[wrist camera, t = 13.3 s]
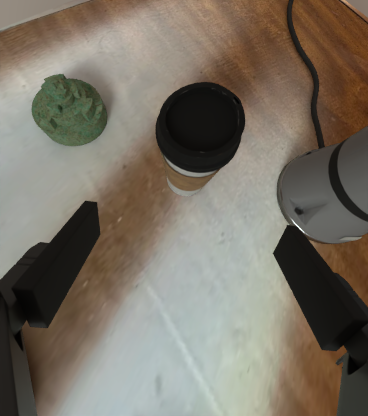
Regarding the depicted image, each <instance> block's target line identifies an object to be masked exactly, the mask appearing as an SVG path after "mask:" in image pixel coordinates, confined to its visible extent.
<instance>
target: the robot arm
mask: <svg viewBox="0 0 368 416" xmlns="http://www.w3.org/2000/svg"><path fill="white" fill-rule="evenodd" d="M292 4H293V0H289V3H288V9H287V21H288V27H289V31H290V34H291V37H292V40H293V42H294V44H295V47H296V49H297V51H298V53H299V55H300V56H301V58H302V59H303V61H304V62H305V64H306V65H307V67H308V68H309V70H310V72H311V74H312V77H313V81H314V92H313V97H312V103H311V114H312V119H313V123H314V127H315V131H316V136H317V141H318V146H319V149H315V150H312V151H308V152H306V153H304V154H302V155H300V156H298V157H297V158H295V159H294V160H292V161H291V162H290V163H289V164H288V165H287V166H286V167H285V168H284V169H283V171H282V173H281V175H280V177H279V180H278V185H277V198H278V203H279V206H280V209H281V211H282V213H283V215H284V217H285V219H286V220H287V221H288V223H289V224H290V225H287V227H286V229H285V231H284V233H283V235H282V237H281V239H280V241H279V243H278V245H277V247H276V249H275V251H274V253H273V254H274V256H275V258H276V260H277V262H278V264H279V266H280V268H281V270H282V272H283V274H284V276H285V278H286V280H287V282H288V284H289V286H290V288H291V290H292V292H293V294H294V296H295V298H296V300H297V302H298V304H299V306H300V308H301V310H302V312H303V314H304V316H305V318H306V320H307V322H308V324H309V326H310V328H311V329H312V331H313V333H314V335H315V337H316V339H317V341H318V343H319V345H320V347H321V349H322V350H329V351H337V350H338V349H339V348H340V347H342V346H343V345H344V347H345V348H346V350H347V353H345V354H344V355H343V356H342V357H341V358H339V359H338V360H337V362H336V364H337V365H339V364H340V363H342V362H343V367H342V377H341V385H340V393H339V401H338V409H337V416H368V307H367V306H366V305H365V304H364V302H363V301H362V300H361V299H360V298H359V297H358V295H357V294H356V292H355V291H353V289H352V287H351V286H350V285H349V284H348V282H347V281H346V280H345V279H343V278H342V277H341V276H340V275H339V274H337V273H334V272H333V271H332V270H331V269H330V267H329V266H328V265H327V263H326V262H325V261H324V260H323V258H322V257H321V256H320V254H319V253H318V252H317V250H316V249H315V248H314V247H313V245H312V244H311V243H310V241H309V240H312V241H315V242H318V243H323V244H337V243H344V242H348V241H352V240H358V239H360V238H362V237H361V236H362V235H364V234H367V233H368V126H367V127H365V128H363V129H362V130H360V131H359V132H357V133H355V134H354V135H352V136H351V137H349V138H347V139H346V140H344V141H343V142H341V143H338V144H334V145H330V146H327V147H325V146H324V141H323V136H322V132H321V127H320V124H319V120H318V116H317V109H316V104H317V97H318V91H319V79H318V75H317V72H316V70H315V67H314V66H313V64H312V62H311V61H310V59H309V58H308V57H307V55H306V54H305V52H304V50H303V49H302V47H301V45H300V43H299V40H298V38H297V35H296V33H295V30H294V27H293V22H292V13H291V11H292ZM99 236H100V226H99V216H98V207H97V202H91V201H85V202H84V203H83V204H82V205H81V206H80V207H79V209H78V210H77V211H76V212H75V213H74V215H73V216H72V217H71V218H70V219H69V220H68V222H67V223H66V224H65V225H64V226H63V228H62V229H61V230H60V231H59V232H58V233H57V235H56V236H55V237H54V238H53V239H52V240H51V242H50V243H43V242H40V243H38V244H36V245H35V246H33V247H32V248H30V249H29V250H28V251H27V252H26V253H25V254H24V255H23V256H22V258H20V260H19V261H18V262H17V263H16V265H14V266H13V267H12V268H11V269H10V270H9V271H8V272H7V273H6V274H5V276H4V277H3V278H2V279H1V280H0V416H37V411H36V406H35V400H34V394H33V389H32V383H31V377H30V372H29V366H28V360H27V355H26V349H25V343H24V338H23V332H22V330H21V328H22V326H23V325H24V323H25V322H26V320H27V321H28V323H29V325H30V327H40V328H48V327H49V325H50V323H51V321H52V320H53V318H54V316H55V314H56V313H57V311H58V309H59V307H60V305H61V304H62V302H63V300H64V298H65V297H66V295H67V293H68V291H69V289H70V288H71V286H72V284H73V282H74V280H75V279H76V277H77V275H78V273H79V272H80V270H81V268H82V266H83V264H84V263H85V261H86V259H87V257H88V256H89V254H90V252H91V250H92V248H93V247H94V245H95V243H96V241H97V240H98V238H99ZM308 239H309V240H308Z"/></svg>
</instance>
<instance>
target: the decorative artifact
mask: <svg viewBox="0 0 368 416" xmlns="http://www.w3.org/2000/svg"><path fill="white" fill-rule="evenodd" d="M44 80H45V83H44V84H43V85H42V86H41V88H42V89H41V90H40V91H39V92H38V93H37V94H36V96H35V98H34V100H33V103H32V115H33V118H34V120H35V122H36V124H37V125H38V126H39V127H40V128H41V129H42V130H43V131H44V132H45V133H46V134H47V135H48V136H49V137H50V138H51V139H52V140H54V141H55V142H57V143H60V144H63V145H67V146H79V145H83V144H86V143H89V142H91V141H93V140H94V139H96V138H97V137H98V136H99V135H100V134H101V133H102V131H103V130H104V128H105V126H106V122H107V113H106V109H105V107H104V104H103V102H102V100H101V97H100V95H99V93H98V92H97V91H96V89H95V88H93V87H92V86H91V85H90V84H88V83H86V82H84V81H81V80H77V79H66V78H65V76H64V74H58V75H53V76H50V77H48V78H46V79H44Z"/></svg>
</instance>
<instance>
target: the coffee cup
mask: <svg viewBox="0 0 368 416" xmlns="http://www.w3.org/2000/svg"><path fill="white" fill-rule="evenodd" d="M244 127H245V114H244V110H243V106H242V103H241V101H240V99H239V98H238V97H237V96H236V95H235V94H233V93H232V92H231V91H230V90H228V89H226V88H225V87H223V86H221V85H219V84H215V83H210V82H200V83H194V84H190V85H187V86H185V87H182V88H180V89H179V90H177V91H175V92H174V93H173V94H172V95H170V96H169V97H168V98H167V100H166V101H165V102H164V104H163V106H162V108H161V110H160V114H159V116H158V118H157V122H156V139H157V143H158V146H159V148H160V150H161V155H162V159H163V163H164V167H165V172H166V176H167V181H168V184H169V187H170V188H171V189H172V191H174V192H175V193H176V194H178V195H181V196H192V195H194V194H196V193H198V192H199V191H200V190H201V189H202V188H203V186H204V185H205V184H206V183H207V182H208V181H209V180H210V179H211V178H212V177H213V176H214V175H215V174H216V173H217V172H218V171H219V170H220V169H221V168H222V167H223V166H225V165H226V164H228V163H229V162H230V160H231V159H232V158H233V157H234V155H235V153H236V152H237V149H238V147H239V144H240V141H241V135H242V133H243V130H244Z"/></svg>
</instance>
